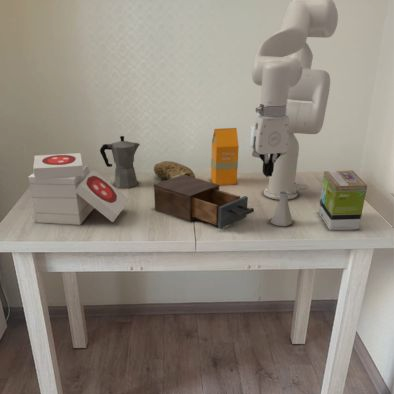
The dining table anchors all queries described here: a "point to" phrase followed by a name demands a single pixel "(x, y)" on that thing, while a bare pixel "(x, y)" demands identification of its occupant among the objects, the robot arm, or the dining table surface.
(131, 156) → the coffeepot
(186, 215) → the cabinet
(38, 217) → the pizza boxes
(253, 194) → the dining table surface
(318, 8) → the robot arm
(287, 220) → the flask
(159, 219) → the dining table surface
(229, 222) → the drawer
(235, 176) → the orange juice
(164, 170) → the sponge
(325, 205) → the tea box
